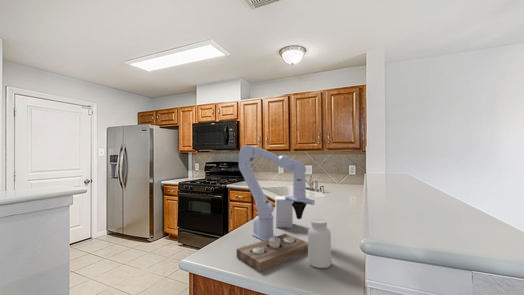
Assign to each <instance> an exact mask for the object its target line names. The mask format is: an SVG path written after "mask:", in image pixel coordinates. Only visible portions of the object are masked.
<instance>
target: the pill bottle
mask: <svg viewBox="0 0 524 295" xmlns="http://www.w3.org/2000/svg"><path fill="white" fill-rule="evenodd" d="M310 224H311V227H309V228H308V230H307V242H308V252H307V260H308V261H307V262H308V264H309V265H310V266H312V267H315V268H317V269H328V268H329V267H331V265H332V233H331V230H330V229H329V228H328V227H327V226H328V224H327V221H326V220H325V219H322V218H313V219H312V220H310Z"/></svg>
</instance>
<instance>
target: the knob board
mask: <svg viewBox="0 0 524 295" xmlns="http://www.w3.org/2000/svg"><path fill="white" fill-rule="evenodd" d="M276 238H279V239H280V248H278V249H275V250H274V249H272V248H270V247H269V239H267V240H261V241H258V242H254V243H251V244H248V245H244V246H242V247H238V248H236V258H237V259H238V260H241V261H243V262H244V263H246V264H247V265H249V267H252V268H253V269H255V270H257V271H258V272H259V273H260V272H263V271H266V270H267V269H270V268H273V267H275V266H277V265H281V264H282V263H284V262H287V261H289V260H292V259H294V258H296V257H299V256H301V255H304V254H306V253H308V241H305V240H303V239H300V238H297V237H295V236H292V235H290V234H286V233H284V234H280V235H276ZM285 238H292V239H294V243H292V244H287V243H284V242H283V240H284V239H285ZM254 248H263V249H264V254H261V255H258V256H257V255H255V254H253V249H254Z"/></svg>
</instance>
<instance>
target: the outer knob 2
mask: <svg viewBox="0 0 524 295" xmlns="http://www.w3.org/2000/svg"><path fill="white" fill-rule="evenodd" d="M283 242H284V243H287V244H292V243H294V239H292V238H285V239H284V240H283Z"/></svg>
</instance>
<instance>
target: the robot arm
mask: <svg viewBox="0 0 524 295" xmlns="http://www.w3.org/2000/svg"><path fill="white" fill-rule="evenodd" d="M259 157H262V158H264V159H266V160H268V161H269V160H270V161H272V162H275V163H276V164H277V166H278V168H281V169H284V170H286V171H287V172H293V178H292V196H291V195H289V196H288V195H286V196H284V197H285V201H293V203H292V206H293V211H294V213H295V215H296V219H297V220H301V219H303V214H304V211H305V209H306V206H307V205H311V206H315V205H316V204H315V202H316V201H315V199H311V198H306V193H307V192H306V187H307V186H306V183H307V182H306V173H307V172H306V171H307V168H306V165H305V164H304V163H303V162H301V161H298V159H295V160H294V159H292V157H289V155H287V154H285V155H284V154H283V155H280V156H278V155H277V154H275V153H272V152H270V151H269V150H266V149H264V148H261V147H257V146H253V145H248V144H245V145H242V146H241V148H240V150H239V152H238V168H239V171H240V173H241V175H242V177H243V178H244V182H245V183H246V185H247V187H248V189H249V191H250V193H251V195H252V197H253V199H254V201H255V208H256V210H257V211H256V212H257V216H255V217H254V219H253V233H252V234H251V235H252V236H253V237H255V238H258V239H259V240H261V241H263V240H267V239H269V238H273V237H276V236H277V235H276V234H274V216H273V211H274V208H275V207H274V205H273V203H272V202H271V201H269V199H268V197H267V196H266V195H265V194H264V191H263V190H262V188H261V185H260V184H259V182H258V180H257V178H256V176H255V173H254V171H253V169H252V168H251V164H252V162H253V160H254V159H255V158H259Z"/></svg>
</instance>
